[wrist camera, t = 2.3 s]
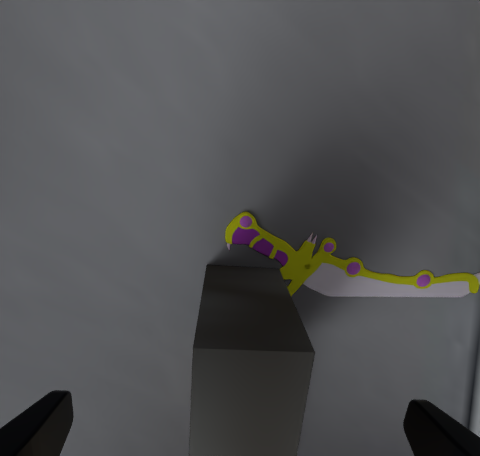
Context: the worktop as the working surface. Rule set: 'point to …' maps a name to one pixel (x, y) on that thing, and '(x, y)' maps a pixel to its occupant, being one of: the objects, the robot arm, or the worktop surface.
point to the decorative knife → (342, 268)
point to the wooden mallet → (248, 366)
